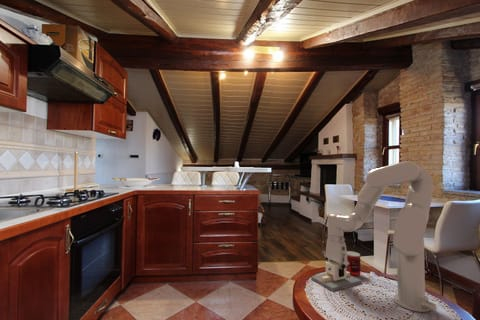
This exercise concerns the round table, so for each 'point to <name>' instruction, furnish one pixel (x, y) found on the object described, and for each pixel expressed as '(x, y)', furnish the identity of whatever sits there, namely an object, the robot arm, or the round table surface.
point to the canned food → (353, 263)
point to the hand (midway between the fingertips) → (336, 273)
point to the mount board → (338, 284)
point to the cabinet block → (334, 270)
